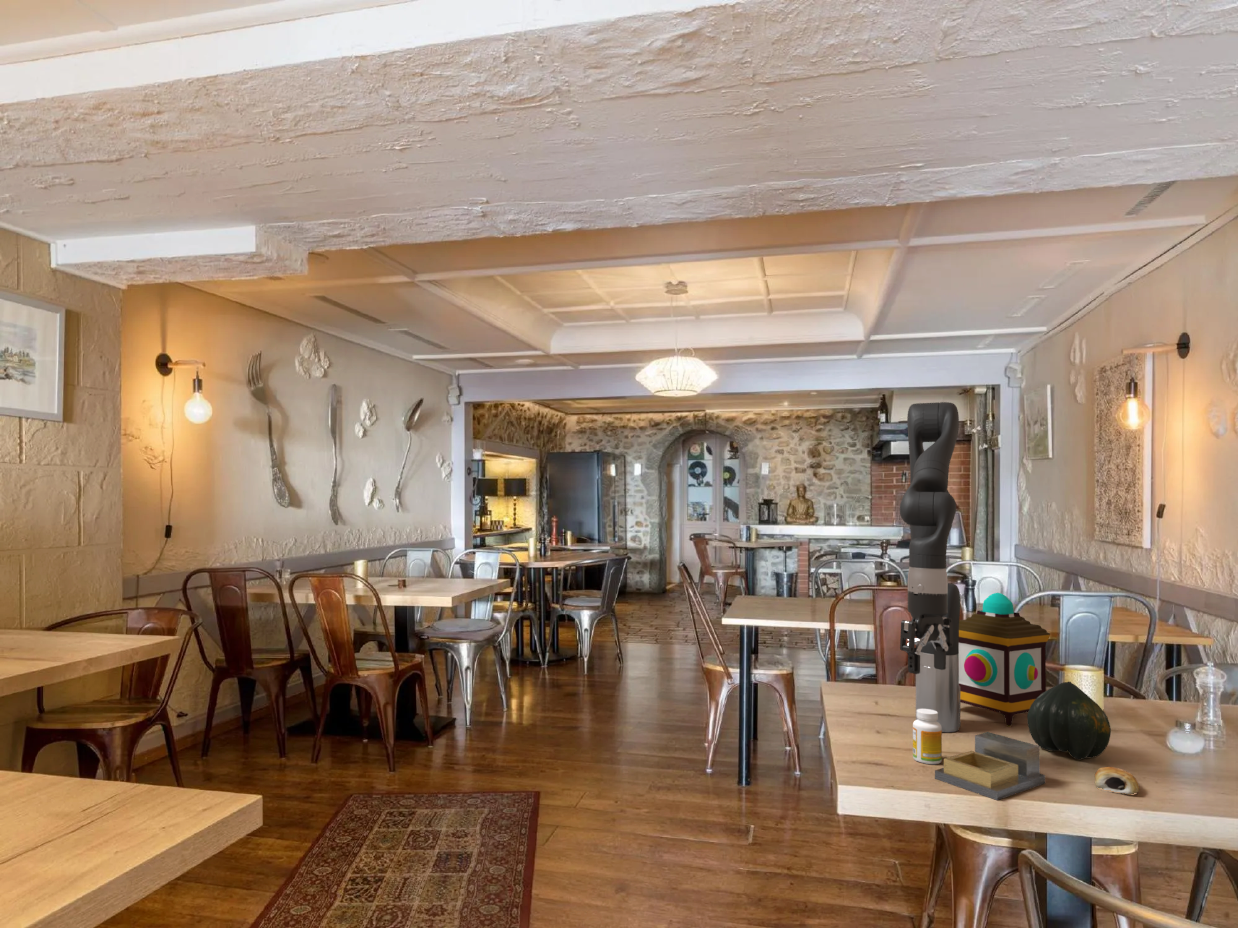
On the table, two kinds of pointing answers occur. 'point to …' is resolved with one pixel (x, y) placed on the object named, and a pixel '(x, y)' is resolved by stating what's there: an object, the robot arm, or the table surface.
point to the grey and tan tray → (994, 767)
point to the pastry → (1116, 780)
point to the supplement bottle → (927, 737)
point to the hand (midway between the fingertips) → (927, 671)
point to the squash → (1069, 722)
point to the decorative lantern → (1001, 659)
